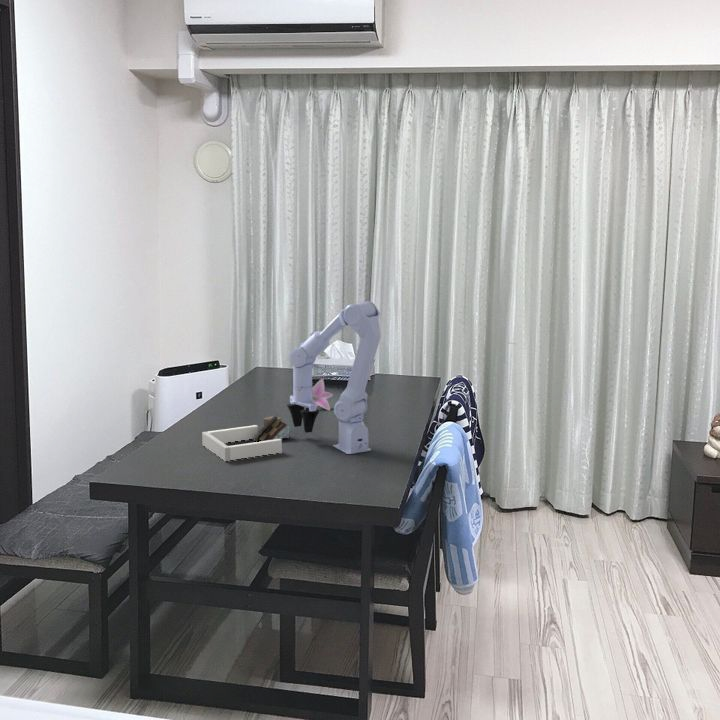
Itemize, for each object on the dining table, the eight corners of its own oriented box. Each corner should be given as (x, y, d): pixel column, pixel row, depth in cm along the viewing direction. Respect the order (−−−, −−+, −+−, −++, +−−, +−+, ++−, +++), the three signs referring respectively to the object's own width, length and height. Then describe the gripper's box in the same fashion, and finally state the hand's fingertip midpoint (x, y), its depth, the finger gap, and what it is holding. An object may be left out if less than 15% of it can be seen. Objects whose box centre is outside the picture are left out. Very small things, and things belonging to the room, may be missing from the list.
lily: (293, 413, 298) (299, 392, 292) (299, 393, 307) (306, 373, 302) (325, 423, 298) (332, 403, 293) (330, 404, 308) (337, 384, 303)
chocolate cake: (270, 448, 254) (292, 416, 259) (251, 438, 257) (273, 407, 261) (278, 461, 262) (299, 430, 267) (260, 452, 265) (281, 421, 269)
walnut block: (281, 430, 272) (281, 418, 272) (272, 432, 269) (272, 420, 268) (272, 428, 275) (272, 416, 274) (263, 430, 272) (263, 418, 271)
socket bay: (281, 453, 247) (281, 439, 246) (225, 461, 239) (225, 448, 238) (256, 437, 263) (256, 425, 263) (202, 445, 255) (202, 432, 254)
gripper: (280, 382, 262) (281, 425, 265) (301, 392, 250) (301, 436, 252) (301, 380, 266) (301, 422, 268) (322, 389, 253) (322, 433, 256)
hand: (302, 429), depth 260 cm, fingers open, 7 cm apart
